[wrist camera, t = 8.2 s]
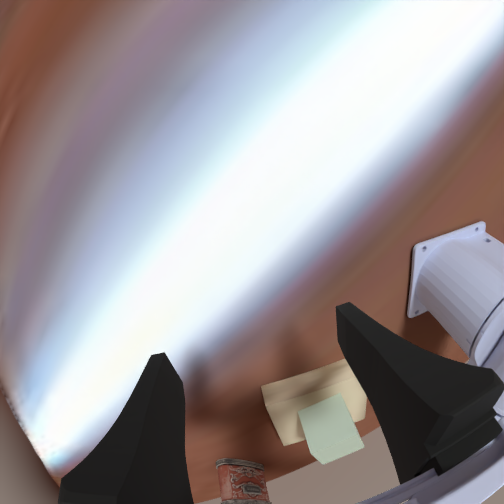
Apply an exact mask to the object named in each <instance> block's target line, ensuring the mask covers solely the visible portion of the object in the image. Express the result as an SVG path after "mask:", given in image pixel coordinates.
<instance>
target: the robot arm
mask: <svg viewBox="0 0 504 504" xmlns="http://www.w3.org/2000/svg"><path fill="white" fill-rule="evenodd" d="M423 247H424V248H423ZM422 248H423V249H422ZM426 311H429V312H430V313H431V314H432V315H433V316H434V317H435V319H436V320H437V321H438V322H439V323H440V324H441V325H442V326H443V328H444V329H445V330H446V331H447V332H448V333H449V334H450V336H451V337H452V338H453V339H454V340H455V341H456V343H457V344H458V345H459V346H460V347H461V349H462V350H463V351H464V352H465V353H466V354H467V356H468V357H469V358H470V359H469V362H468V363H467V364H465V363H461V362H457V361H454V360H451V359H448V358H445V357H442V356H439V355H437V354H434V353H431V352H429V351H427V350H424V349H422V348H420V347H418V346H416V345H414V344H412V343H410V342H408V341H407V340H405V339H403V338H401V337H400V336H398V335H396V334H395V333H393V332H391V331H390V330H388V329H387V328H385V327H384V326H382V325H381V324H379V323H378V322H376V321H375V320H374V319H372V318H371V317H369V316H368V315H367V314H365V313H364V312H363V311H361V310H360V309H359V308H357V307H356V306H355V305H353V304H352V303H350V302H348V303H345V304H342V305H339V306H336V319H337V336H338V343H339V345H340V347H341V350H342V352H343V354H344V357H345V359H346V361H347V363H348V365H349V366H350V368H351V370H352V371H353V373H354V375H355V377H356V378H357V380H358V382H359V383H360V385H361V387H362V389H363V390H364V392H365V394H366V396H367V397H368V399H369V401H370V403H371V405H372V407H373V409H374V411H375V414H376V416H377V419H378V421H379V423H380V426H381V428H382V431H383V433H384V436H385V439H386V441H387V444H388V447H389V450H390V453H391V456H392V459H393V462H394V465H395V468H396V472H397V475H398V478H399V482H400V485H399V486H397V487H395V488H393V489H390V490H388V491H386V492H384V493H381V494H379V495H377V496H374V497H372V498H369V499H367V500H364V501H362V502H359V503H356V504H399V503H402V502H404V501H406V500H408V499H409V500H408V501H407V502H405V503H403V504H481V503H482V502H483V501H484V500H486V499H487V498H488V497H489V496H491V495H492V494H493V493H494V492H496V491H497V490H498V489H499V488H501V487H502V486H503V485H504V244H503V243H501V242H500V241H498V240H497V239H495V238H494V237H492V236H491V235H489V234H487V233H486V232H485V223H484V222H483V221H481V222H478V223H475V224H472V225H470V226H467V227H464V228H461V229H459V230H456V231H453V232H450V233H447V234H444V235H441V236H439V237H436V238H433V239H430V240H427V241H424V242H421V243H418V244H416V245H415V246H414V248H413V256H412V270H411V282H410V292H409V301H408V310H407V316H408V317H409V318H413V317H415V316H417V315H420V314H422V313H424V312H426ZM58 504H194V502H193V498H192V494H191V489H190V483H189V478H188V472H187V464H186V457H185V397H184V389H183V382H182V380H181V379H180V377H179V375H178V374H177V372H176V371H175V369H174V367H173V366H172V364H171V362H170V361H169V359H168V357H167V356H166V354H165V352H164V353H159V354H155V355H151V357H150V359H149V361H148V363H147V365H146V367H145V369H144V371H143V373H142V375H141V377H140V379H139V381H138V383H137V385H136V386H135V388H134V390H133V392H132V394H131V396H130V398H129V400H128V401H127V403H126V405H125V407H124V408H123V410H122V412H121V414H120V415H119V417H118V418H117V420H116V421H115V423H114V424H113V426H112V427H111V428H110V430H109V431H108V433H107V434H106V435H105V436H104V438H103V439H102V440H101V441H100V442H99V444H98V445H97V446H96V447H95V448H94V449H93V451H92V452H91V453H90V454H89V455H88V456H87V457H86V458H85V459H84V460H83V461H82V462H81V463H79V464H78V465H77V466H76V467H75V468H74V469H73V470H71V471H70V472H69V473H68V474H66V475H65V476H64V477H63V478H62V479H61V485H60V492H59V499H58Z"/></svg>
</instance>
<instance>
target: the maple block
mask: <svg viewBox="0 0 504 504" xmlns="http://www.w3.org/2000/svg"><path fill="white" fill-rule="evenodd" d="M261 389H262V393H263V398H264V402H265V406H266V409H267V411H268V413H269V415H270V417H271V419H272V422H273V424H274V426H275V428H276V430H277V432H278V435H279V437H280V439H281V441H282V443H283V445H284V446H286V445H289V444H293V443H296V442H300V441H303V440H306V437H305V434H304V430H303V427H302V424H301V421H300V418H299V414H298V411H300V410H302V409H304V408H307V407H309V406H312V405H314V404H316V403H318V402H321V401H323V400H325V399H327V398H330V397H332V396H334V395H336V394H338V393H341V395H342V397H343V399H344V401H345V404H346V406H347V408H348V410H349V412H350V414H351V417H352V419H353V421H354V423H355V422H357V421H360V420H362V419H365V411H366V399H367V396H366V394H365V392H364V390H363V389H362V387H361V385H360V383H359V382H358V380H357V378H356V377H355V375H354V373H353V371H352V370H351V368H350V366H349V365H348V363H347V361H346V359H343V360H340V361H338V362H335V363H332V364H329V365H326V366H324V367H321V368H318V369H315V370H312V371H309V372H306V373H303V374H300V375H296V376H293V377H290V378H287V379H284V380H280V381H277V382H273V383H270V384H266V385H263V386H261Z"/></svg>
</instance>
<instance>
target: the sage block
mask: <svg viewBox="0 0 504 504" xmlns="http://www.w3.org/2000/svg"><path fill="white" fill-rule="evenodd" d="M298 414H299V418H300V421H301V424H302V427H303V430H304V434H305V437H306V440H307V443H308V447H309V450H310V453H311V454H312V455H313V456H314V457H315V458H316V459H317V460H318V461H319V462H320V463H322V464H326V463H329V462H331V461H334V460H336V459H338V458H341V457H343V456H346V455H348V454H350V453H353V452H355V451H357V450H359V449H362V448H364V445H363V442H362V440H361V437H360V435H359V433H358V431H357V428H356V426H355V424H354V421H353V419H352V417H351V414H350V412H349V410H348V408H347V406H346V404H345V401H344V399H343V397H342V395H341V393H338V394H336V395H334V396H332V397H330V398H327V399H325V400H323V401H321V402H318V403H316V404H314V405H312V406H309V407H307V408H304V409H302V410H300V411H298Z"/></svg>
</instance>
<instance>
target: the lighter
mask: <svg viewBox="0 0 504 504" xmlns="http://www.w3.org/2000/svg"><path fill="white" fill-rule="evenodd" d="M216 468H217V469H218V475H219V483H220V491H221V499H222V502H221V504H271V502H270V501H269V496H268V491H267V487H266V482H265V478H264V473H263V472H264V467H263V465H262V464H259V463H255V462H251V461H245V460H239V459H229V458H224V459H220V460H217V461H216Z"/></svg>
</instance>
